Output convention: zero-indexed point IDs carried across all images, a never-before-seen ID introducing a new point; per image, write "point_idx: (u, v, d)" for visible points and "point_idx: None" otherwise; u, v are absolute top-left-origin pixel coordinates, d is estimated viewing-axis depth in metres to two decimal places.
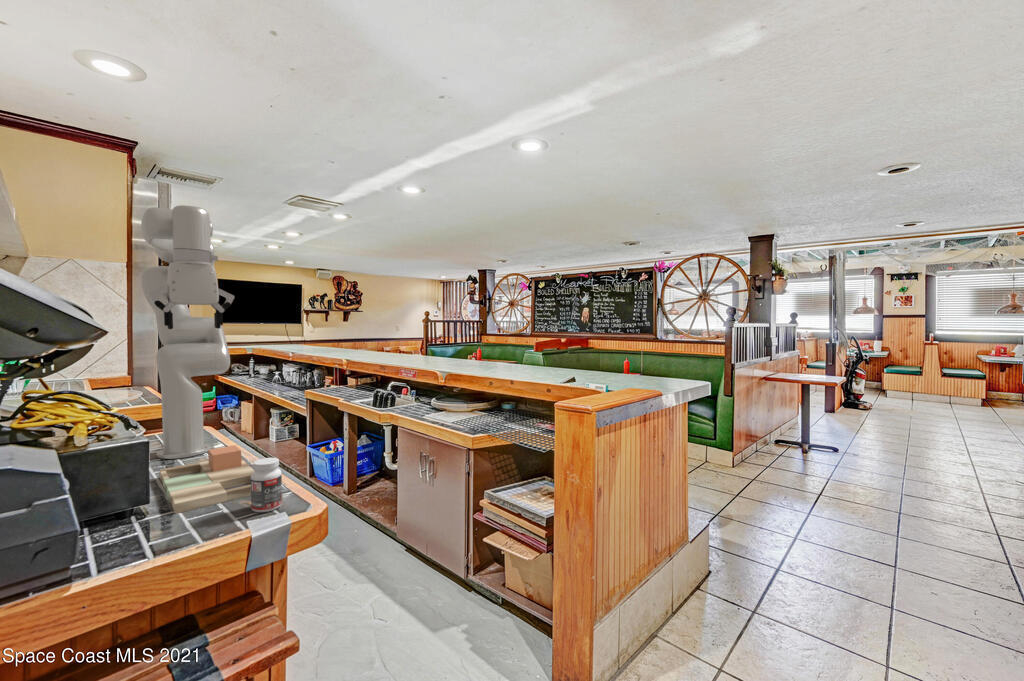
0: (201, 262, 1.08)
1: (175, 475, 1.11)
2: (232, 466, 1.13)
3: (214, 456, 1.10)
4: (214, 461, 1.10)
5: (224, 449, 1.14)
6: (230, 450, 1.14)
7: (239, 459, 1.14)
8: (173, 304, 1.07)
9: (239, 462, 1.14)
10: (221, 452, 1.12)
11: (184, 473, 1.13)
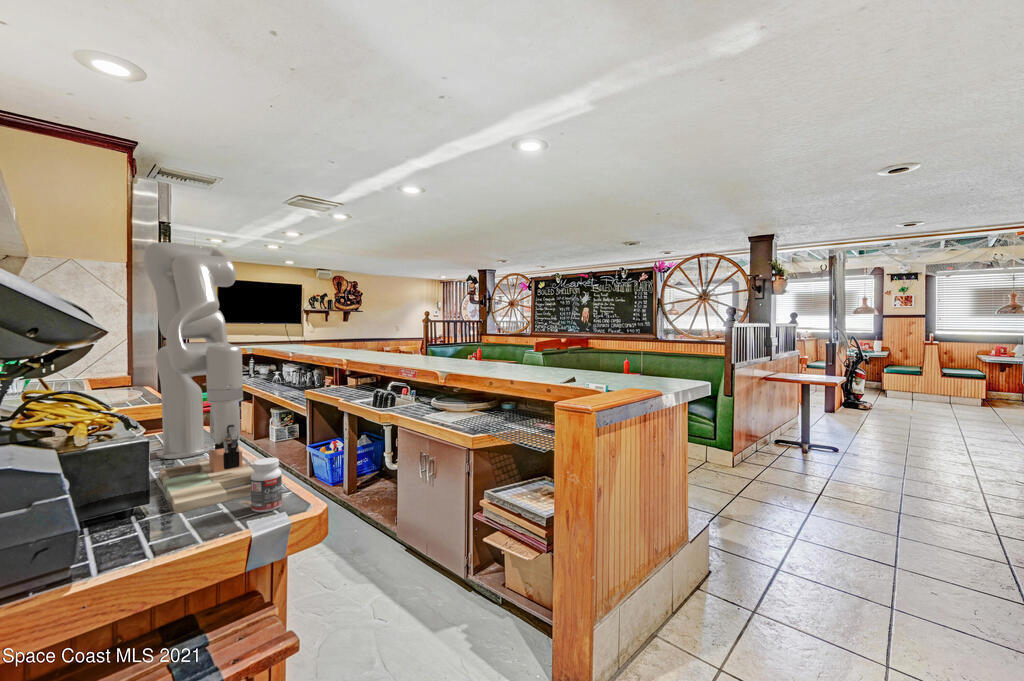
0: None
1: (175, 475, 1.11)
2: None
3: (215, 457, 1.09)
4: (215, 462, 1.09)
5: None
6: None
7: (240, 460, 1.13)
8: None
9: (240, 463, 1.13)
10: (222, 453, 1.11)
11: (184, 473, 1.13)
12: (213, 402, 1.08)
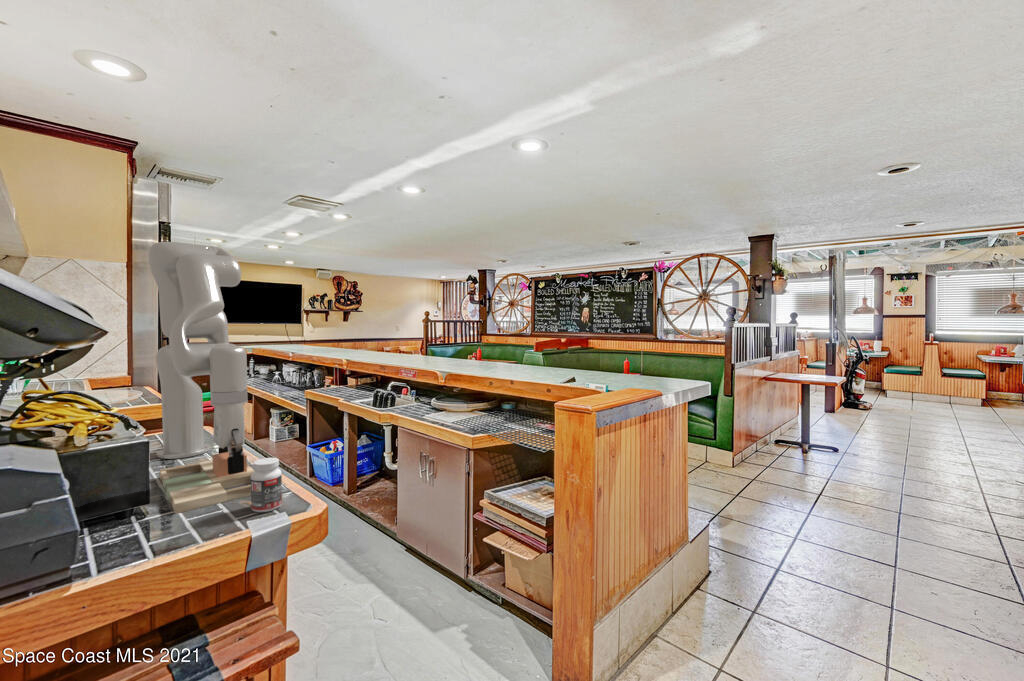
0: None
1: (175, 475, 1.11)
2: None
3: (219, 461, 1.06)
4: (219, 467, 1.06)
5: None
6: None
7: (244, 464, 1.10)
8: None
9: (244, 467, 1.10)
10: (226, 457, 1.08)
11: (184, 473, 1.13)
12: (217, 405, 1.04)
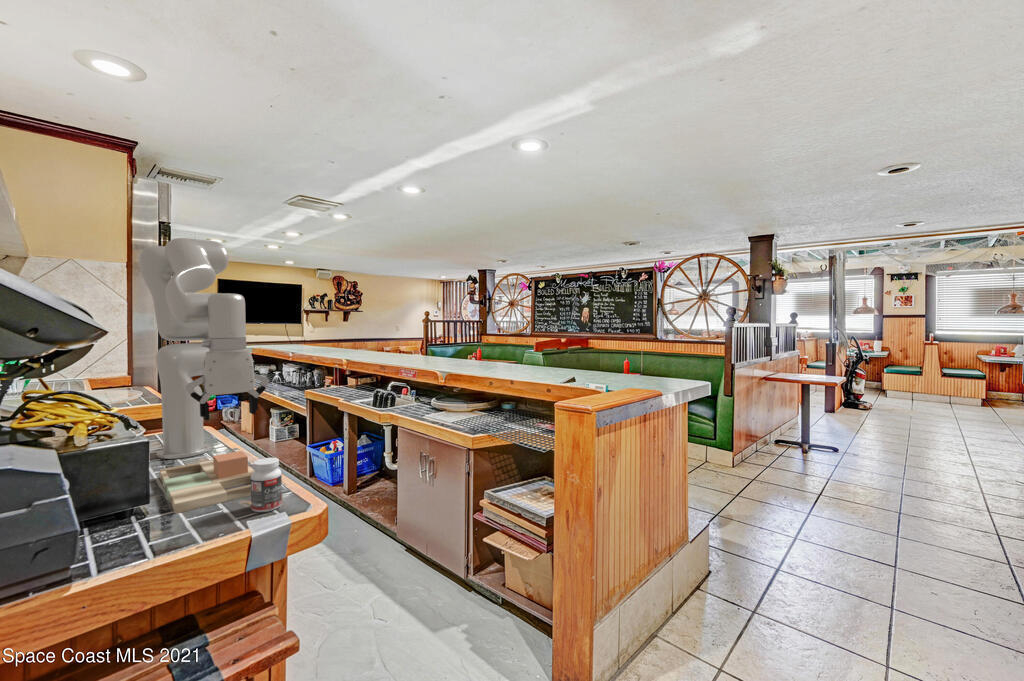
0: None
1: (175, 475, 1.11)
2: (238, 473, 1.08)
3: (220, 463, 1.05)
4: (220, 468, 1.05)
5: (230, 455, 1.10)
6: (236, 456, 1.09)
7: (245, 465, 1.09)
8: None
9: (245, 469, 1.09)
10: (227, 458, 1.07)
11: (184, 473, 1.13)
12: (242, 350, 1.07)
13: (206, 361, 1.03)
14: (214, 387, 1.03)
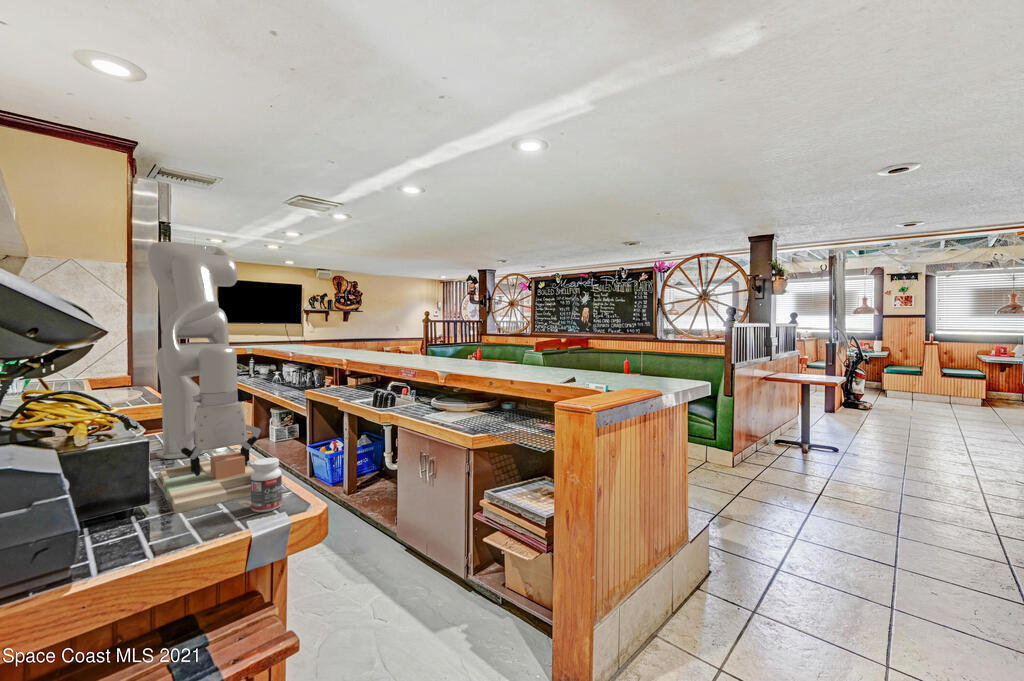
0: None
1: (175, 475, 1.11)
2: (235, 473, 1.07)
3: (217, 463, 1.05)
4: (217, 468, 1.05)
5: (227, 456, 1.09)
6: (233, 457, 1.08)
7: (243, 466, 1.08)
8: None
9: (243, 469, 1.08)
10: (224, 459, 1.07)
11: (184, 473, 1.13)
12: (233, 403, 1.06)
13: (197, 416, 1.02)
14: (205, 442, 1.03)
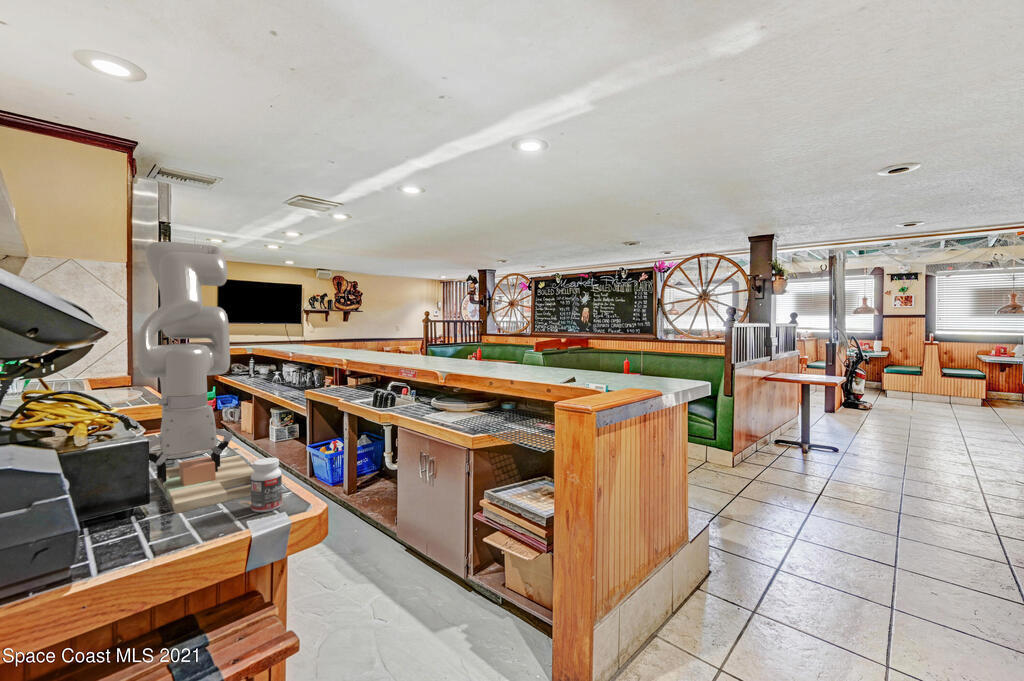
0: None
1: (175, 475, 1.11)
2: (205, 480, 1.03)
3: (184, 470, 1.00)
4: (185, 475, 1.00)
5: (196, 461, 1.05)
6: (203, 462, 1.04)
7: (213, 472, 1.04)
8: None
9: (213, 475, 1.04)
10: (193, 465, 1.02)
11: None
12: (202, 407, 1.02)
13: (163, 420, 0.98)
14: (171, 448, 0.99)
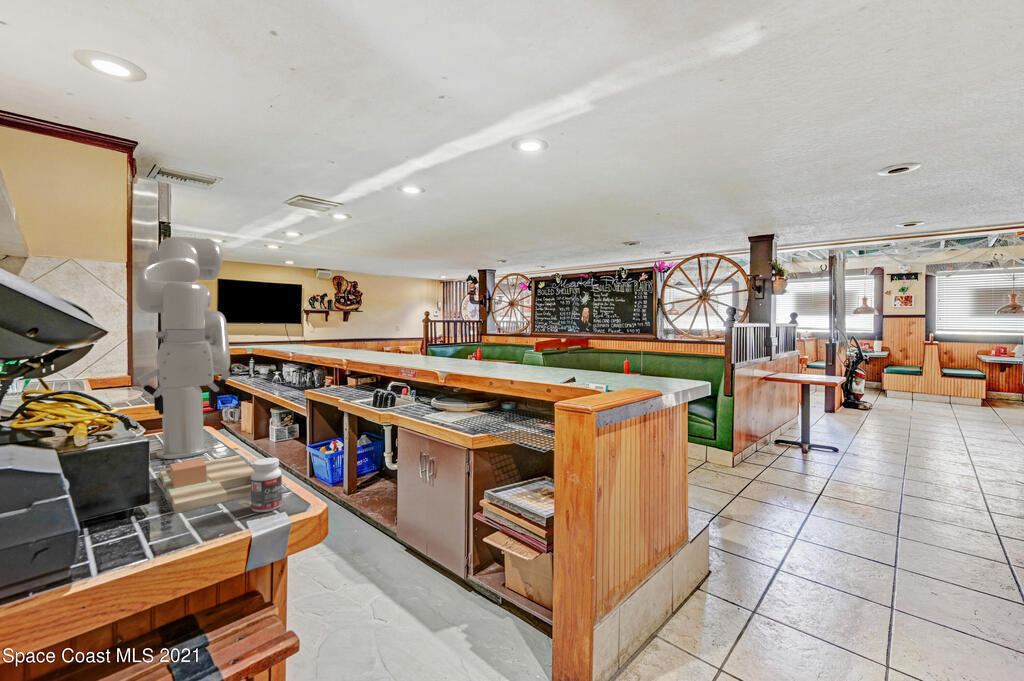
0: None
1: None
2: (196, 482, 1.02)
3: (175, 472, 0.99)
4: (175, 477, 0.99)
5: (188, 463, 1.04)
6: (194, 464, 1.03)
7: (204, 474, 1.03)
8: None
9: (204, 478, 1.03)
10: (183, 467, 1.01)
11: None
12: (199, 342, 1.02)
13: (160, 353, 0.98)
14: (168, 380, 0.99)
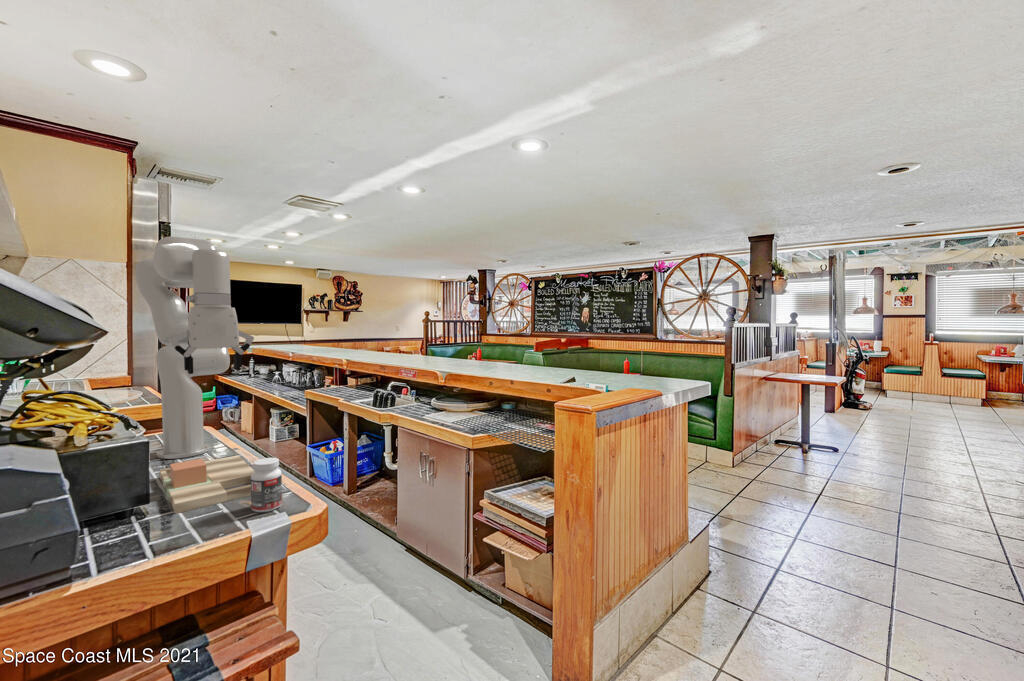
0: None
1: None
2: (196, 482, 1.02)
3: (175, 472, 0.99)
4: (175, 477, 0.99)
5: (188, 463, 1.04)
6: (194, 464, 1.03)
7: (204, 474, 1.03)
8: None
9: (204, 478, 1.03)
10: (183, 467, 1.01)
11: None
12: (226, 306, 1.08)
13: (190, 315, 1.05)
14: (198, 341, 1.05)
